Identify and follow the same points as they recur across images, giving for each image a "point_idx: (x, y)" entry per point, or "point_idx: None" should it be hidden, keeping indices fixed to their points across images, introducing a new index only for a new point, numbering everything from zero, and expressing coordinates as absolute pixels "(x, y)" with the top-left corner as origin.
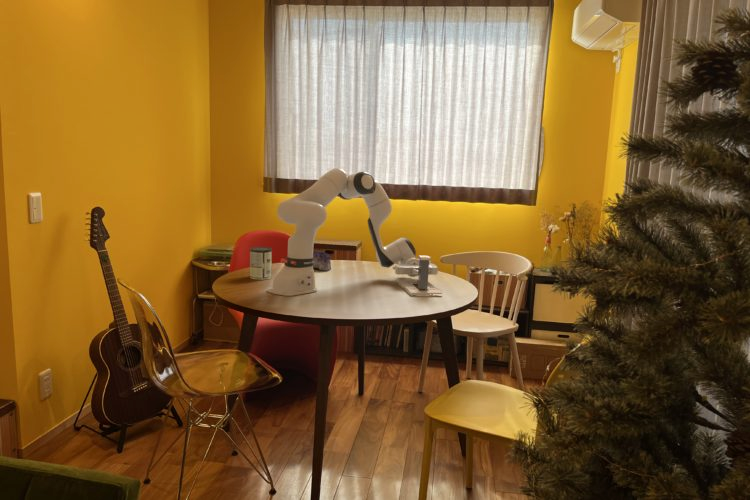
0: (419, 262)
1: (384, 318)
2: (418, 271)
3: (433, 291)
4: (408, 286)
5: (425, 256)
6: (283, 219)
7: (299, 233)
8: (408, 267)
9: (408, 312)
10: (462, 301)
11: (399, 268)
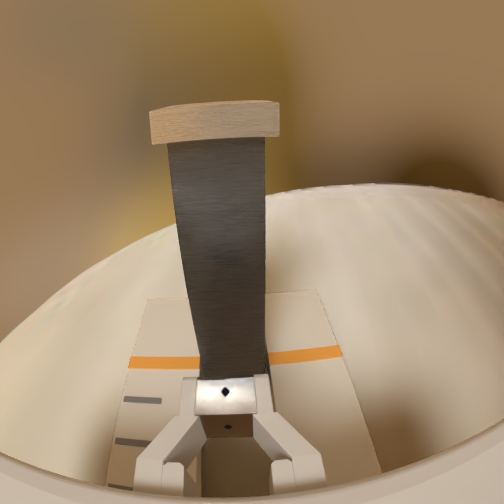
0: (264, 180)
1: (359, 184)
2: (247, 375)
3: (181, 318)
4: (333, 420)
5: (204, 103)
6: None
7: None
8: (401, 468)
9: (317, 199)
10: (113, 264)
11: (498, 423)
